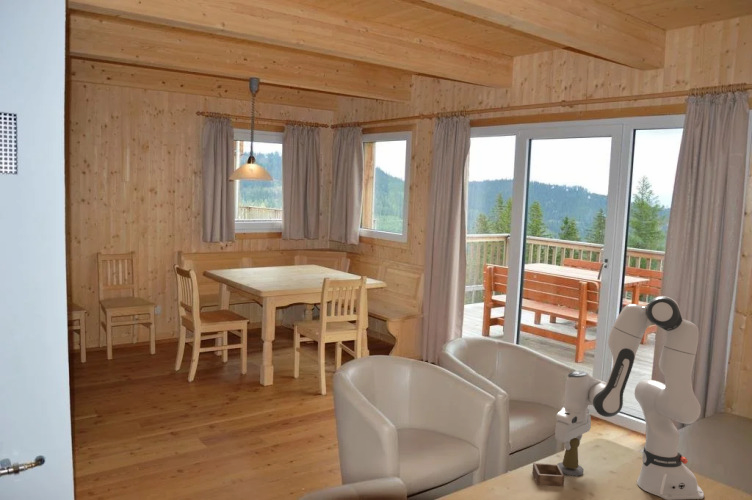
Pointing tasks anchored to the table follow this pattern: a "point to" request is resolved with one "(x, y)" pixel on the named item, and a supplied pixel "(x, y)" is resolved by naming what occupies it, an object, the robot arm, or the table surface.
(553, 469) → the walnut holder
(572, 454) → the cork
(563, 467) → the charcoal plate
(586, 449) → the table surface
